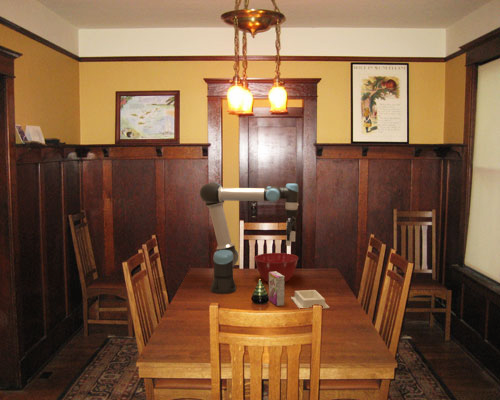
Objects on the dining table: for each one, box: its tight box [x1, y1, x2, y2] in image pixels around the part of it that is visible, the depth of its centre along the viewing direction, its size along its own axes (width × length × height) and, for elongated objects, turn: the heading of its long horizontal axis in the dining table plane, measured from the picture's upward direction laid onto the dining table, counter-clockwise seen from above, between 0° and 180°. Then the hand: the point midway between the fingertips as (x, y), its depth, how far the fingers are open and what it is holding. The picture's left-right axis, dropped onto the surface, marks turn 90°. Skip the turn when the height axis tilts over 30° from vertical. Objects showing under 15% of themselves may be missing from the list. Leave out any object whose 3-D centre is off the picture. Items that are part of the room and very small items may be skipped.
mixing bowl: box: [253, 252, 299, 283], centre depth 300 cm, size 28×28×15 cm
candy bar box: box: [268, 271, 286, 307], centre depth 256 cm, size 11×5×16 cm, turn 22°
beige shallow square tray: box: [290, 289, 330, 310], centre depth 257 cm, size 16×20×4 cm
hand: (290, 243), depth 285 cm, fingers open, 13 cm apart
